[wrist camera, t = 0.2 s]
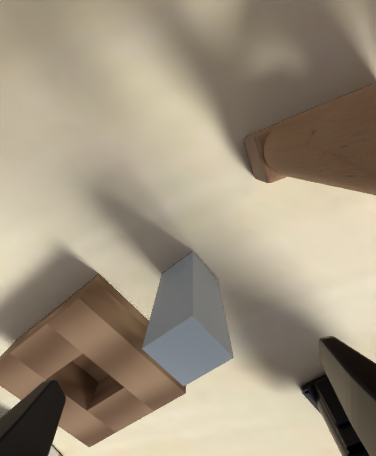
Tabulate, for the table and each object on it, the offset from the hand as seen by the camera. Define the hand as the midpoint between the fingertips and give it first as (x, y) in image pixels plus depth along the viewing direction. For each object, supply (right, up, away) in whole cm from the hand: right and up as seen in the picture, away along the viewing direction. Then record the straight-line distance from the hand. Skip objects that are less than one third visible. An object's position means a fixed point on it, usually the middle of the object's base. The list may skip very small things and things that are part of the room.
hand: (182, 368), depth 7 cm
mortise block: (-10, -9, +18) cm, 22 cm away
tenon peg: (0, 0, +15) cm, 15 cm away
